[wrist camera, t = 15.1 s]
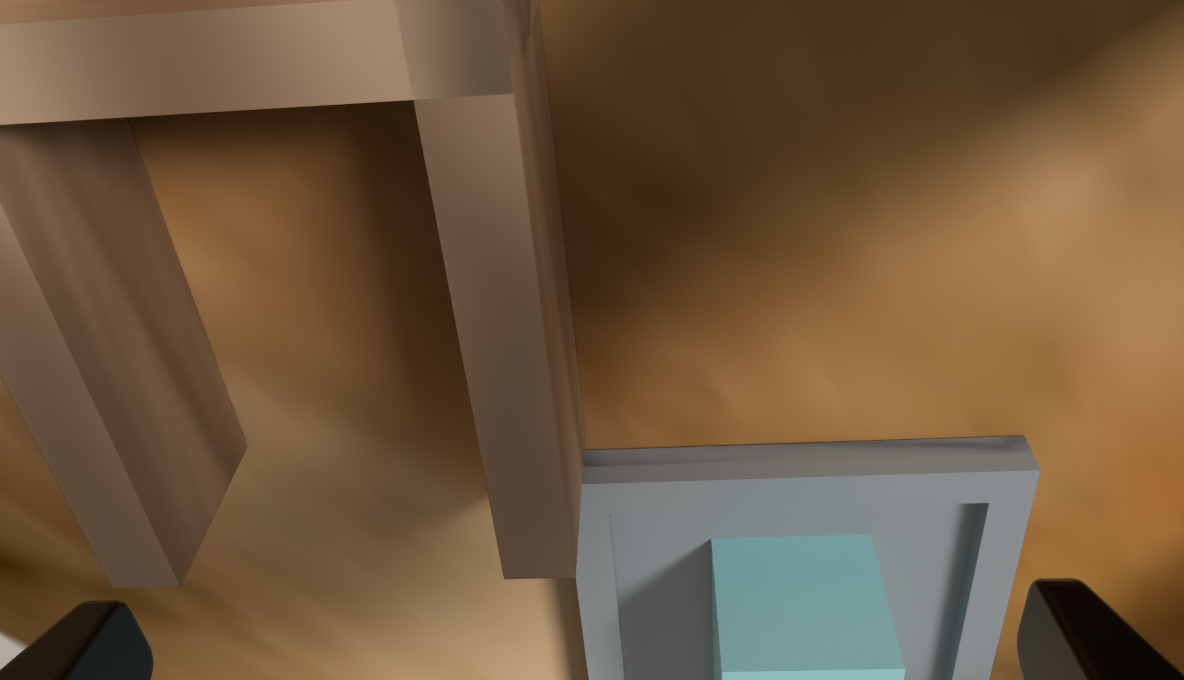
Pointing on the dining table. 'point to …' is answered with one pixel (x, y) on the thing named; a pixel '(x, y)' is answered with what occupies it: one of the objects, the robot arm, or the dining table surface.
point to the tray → (801, 508)
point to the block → (801, 610)
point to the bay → (160, 291)
